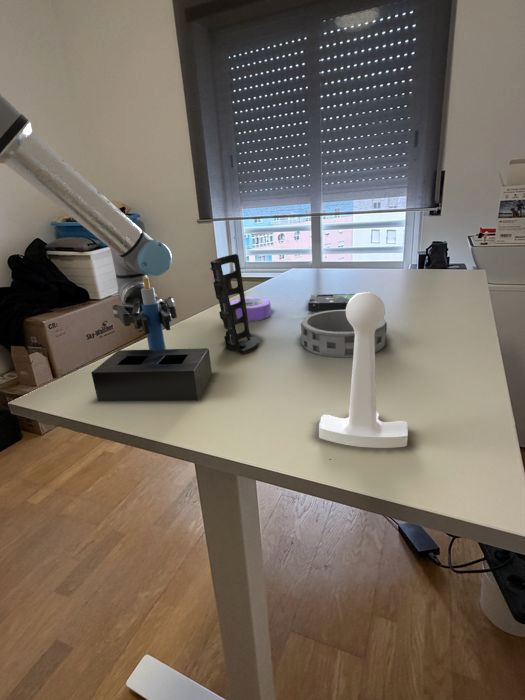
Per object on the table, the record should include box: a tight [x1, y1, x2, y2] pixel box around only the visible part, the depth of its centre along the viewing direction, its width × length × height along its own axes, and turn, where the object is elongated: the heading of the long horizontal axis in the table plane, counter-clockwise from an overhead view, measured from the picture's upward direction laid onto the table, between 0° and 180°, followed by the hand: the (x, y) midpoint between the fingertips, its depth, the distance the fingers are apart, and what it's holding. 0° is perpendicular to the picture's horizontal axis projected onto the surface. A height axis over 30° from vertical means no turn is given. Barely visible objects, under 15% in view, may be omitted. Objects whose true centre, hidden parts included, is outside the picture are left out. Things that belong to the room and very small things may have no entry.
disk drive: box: [307, 293, 357, 312], centre depth 117 cm, size 10×3×15 cm
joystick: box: [318, 291, 409, 449], centre depth 51 cm, size 11×8×20 cm
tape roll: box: [230, 297, 272, 322], centre depth 114 cm, size 12×12×4 cm
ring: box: [300, 310, 388, 358], centre depth 88 cm, size 18×18×5 cm
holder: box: [209, 253, 261, 355], centre depth 88 cm, size 11×8×20 cm
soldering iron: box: [141, 277, 167, 350], centre depth 81 cm, size 3×3×18 cm
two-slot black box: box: [90, 347, 213, 402], centre depth 71 cm, size 10×17×6 cm, turn 84°
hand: (157, 324), depth 76 cm, fingers closed on soldering iron, 3 cm apart
